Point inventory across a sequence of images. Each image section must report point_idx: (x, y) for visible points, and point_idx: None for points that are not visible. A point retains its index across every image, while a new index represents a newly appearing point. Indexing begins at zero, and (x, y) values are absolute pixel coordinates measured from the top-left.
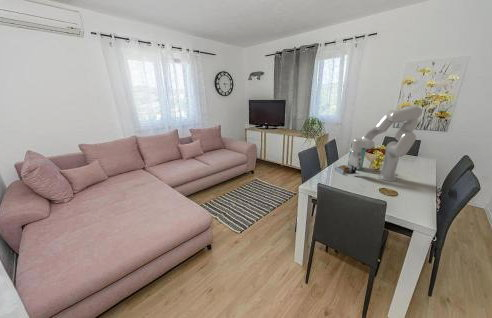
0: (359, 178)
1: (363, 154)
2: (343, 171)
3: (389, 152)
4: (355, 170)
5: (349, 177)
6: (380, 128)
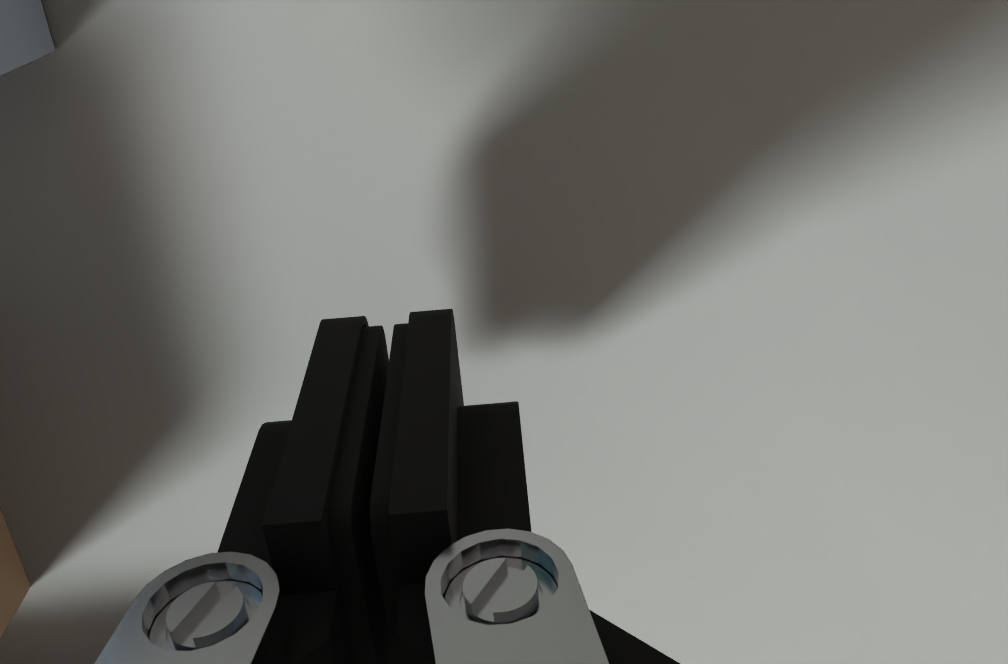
0: (862, 254)
1: None
2: None
3: None
4: (529, 528)
5: (610, 616)
6: None
